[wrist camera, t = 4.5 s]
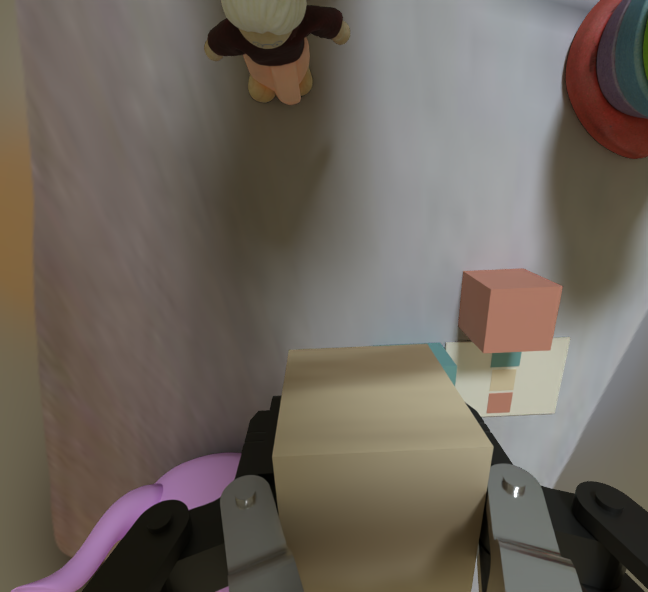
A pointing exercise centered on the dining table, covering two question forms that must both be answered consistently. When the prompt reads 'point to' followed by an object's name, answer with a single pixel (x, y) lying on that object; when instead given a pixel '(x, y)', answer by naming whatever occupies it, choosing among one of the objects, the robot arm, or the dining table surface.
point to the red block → (508, 310)
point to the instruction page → (509, 378)
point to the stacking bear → (612, 76)
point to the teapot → (177, 484)
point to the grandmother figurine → (274, 43)
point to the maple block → (379, 471)
